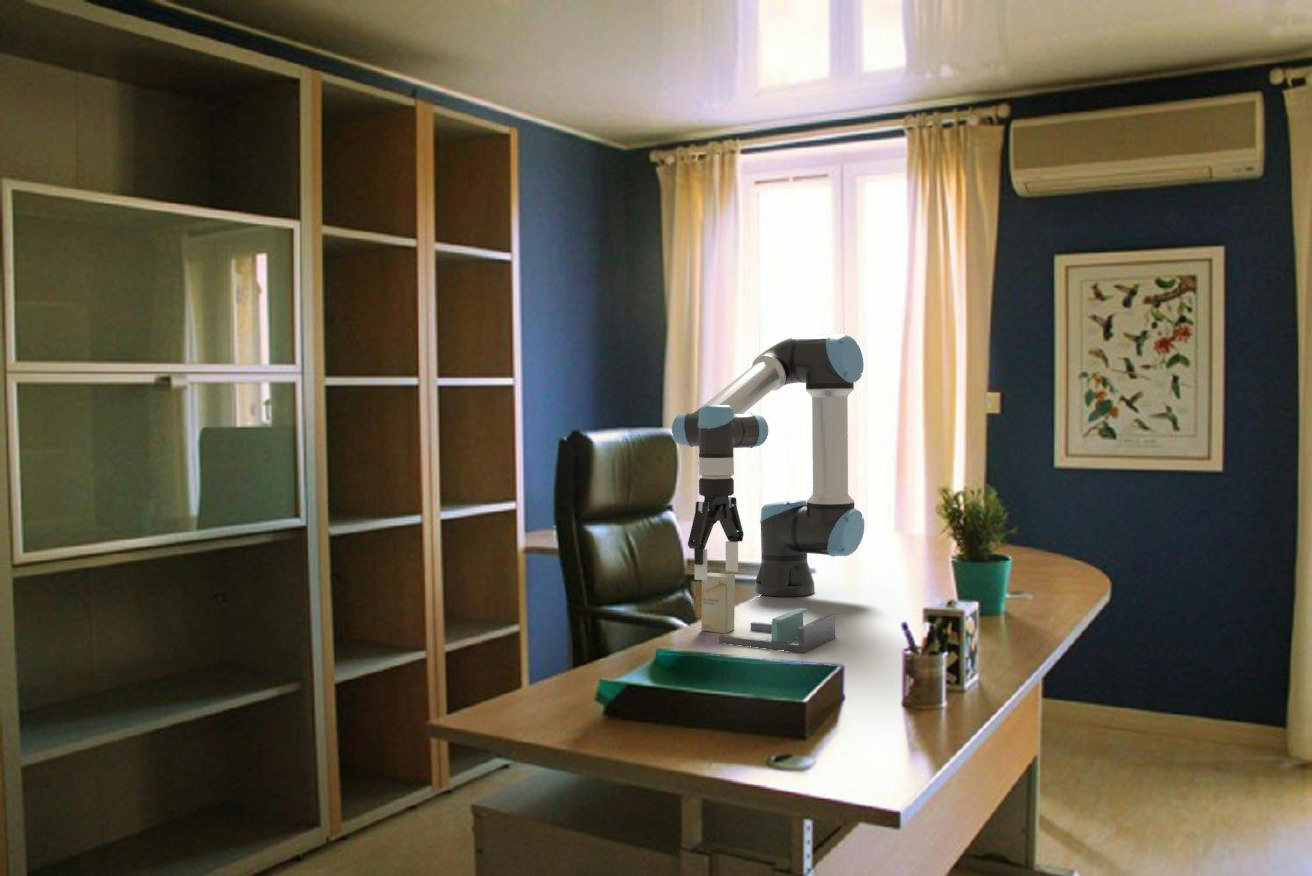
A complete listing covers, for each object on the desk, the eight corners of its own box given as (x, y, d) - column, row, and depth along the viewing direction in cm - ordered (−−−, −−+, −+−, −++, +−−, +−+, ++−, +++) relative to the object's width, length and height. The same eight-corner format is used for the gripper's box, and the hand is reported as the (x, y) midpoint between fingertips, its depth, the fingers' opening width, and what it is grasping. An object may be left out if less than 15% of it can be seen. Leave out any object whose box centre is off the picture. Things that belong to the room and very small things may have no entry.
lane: (753, 628, 244) (753, 606, 244) (835, 638, 234) (835, 614, 234) (718, 643, 231) (718, 619, 231) (804, 653, 221) (803, 628, 221)
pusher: (791, 633, 238) (791, 607, 237) (807, 635, 236) (807, 608, 235) (765, 645, 227) (764, 618, 227) (781, 647, 225) (781, 619, 225)
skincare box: (700, 631, 243) (699, 575, 243) (710, 627, 247) (709, 571, 246) (726, 633, 240) (726, 577, 239) (736, 629, 244) (735, 573, 243)
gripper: (728, 473, 254) (729, 566, 255) (670, 480, 233) (671, 582, 234) (758, 474, 250) (758, 569, 251) (702, 481, 229) (702, 585, 230)
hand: (716, 575), depth 243 cm, fingers open, 13 cm apart
